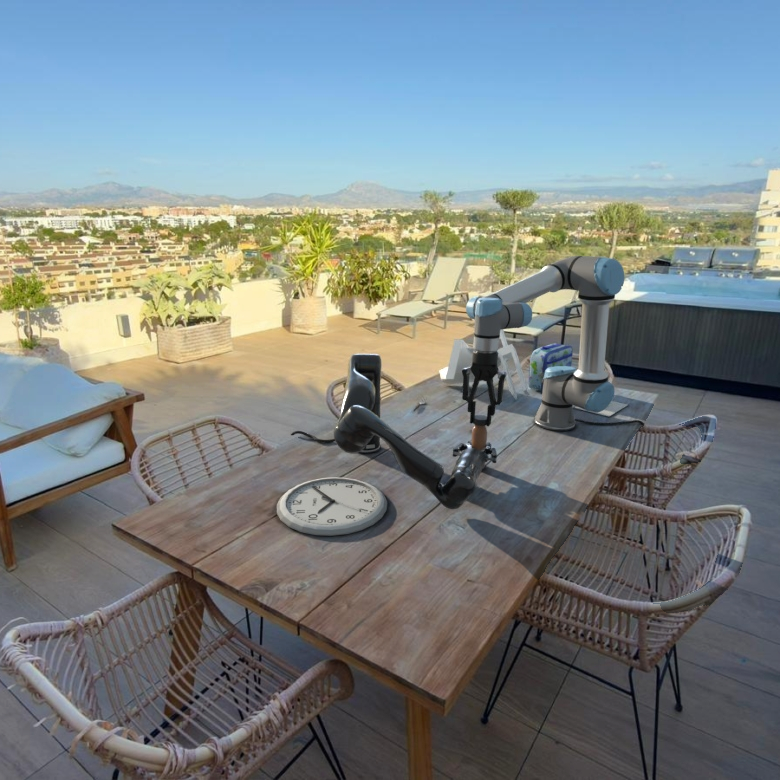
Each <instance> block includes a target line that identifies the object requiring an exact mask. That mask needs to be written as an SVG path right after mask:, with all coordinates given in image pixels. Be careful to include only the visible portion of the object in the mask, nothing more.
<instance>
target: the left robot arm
mask: <svg viewBox="0 0 780 780" xmlns="http://www.w3.org/2000/svg"><path fill="white" fill-rule="evenodd" d="M349 357H350V358H349V360H348V366H347V377H346V383H345V386H344V390H343V395H342V396H343V397H342V402H341V407H340V415H339V418H338V421H337V423H336V425H335V427H334V429H333V438H331V439H321V438H317V437H316V436H315V435H312V434H310V433H308V432H305V431H302V430H294V431H292V432H291V433H290V436H294V435H297V434H299V435H302V436H306V437H307V438H309V439H313V440H314V441H315V442H317V443H323V444H324V443H325V444H326V443H328V444H329V443H334V442H335V443H336V445H337V446H338V448H339V449H340V450H342V451H343V452H344V453H347V454H352V455H353V454H358V453H360V454H373V453H376V452H378V451H380V449H381V440H382V441H383V442H385V444H386V445H387V446H388V447H389V449H390V451H391V452H392V455H393V456H394V459H395V461H396V462H397V464H398V466H399V468H400V470H402V472H403V473H404V474H405V475H407V476H408V477H409V478H411V479H412V480H414V481H416V483H419V484H420V485H422V486H423V487H425V488H426V489H427V490H428V491H429V492H430V493H431V494H432V496H434V497H435V498H436V500H437V501H438V502H439V503H440V504H441V505H442V506H443V507H444V508H447V510H448V509H449V510H458V509H459V508H460V507H461V506H462V505H464V504H465V502H466V501H467V500H468V499H469V498H470V497H471V496H473V494H474V493H475V491H476V489H477V488H478V484H477V479H478V478H479V477H480V475H481V473H482V471H483V469H482V468H483V466H484V464H485V465H486V463H488V461H490V462H492V463H493V464H496V463H497V458H498V453H497V449H496V448H495V447H492V444H491V442H489V441H488V442H487V444H486V447H485V448H484V447H482V448H481V449H475V448H472V447H471V440H472V439H470V440H468V441H467V442H466V443H463V442H461V443H459V444H457V445H456V446H455V447H453V448H452V457H455V458H456V457H458V458H457V459H456V461H455V464H454V467H453V469H452V471H451V474H450V478H449V479H448V480H447V481H446V482H445V483H442V482H441V480H442V478H443V477H444V474H445V469H444V467H443V465H442V464H441V463H439V462H438V461H436V460H435V459H433V458H432V457H429V455H427V454H426V453H423V452H421V450H419V449H418V448H416V447H415V446H413V445H412V444H411V443H410V442H408V441H407V439H405V438H404V437H403V436H402V435H400V434H399V432H397V431H396V430H395V429H393V427H391V426H390V425H389V424H388V423H386V422H385V421H384V420H383V419H382V418H381V384H382V383H381V382H382V369H383V367H382V366H383V364H382V357H381V356H380V354H379V353H354V354H352V355H351V356H349ZM307 433H308V434H307Z"/></svg>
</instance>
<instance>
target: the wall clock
mask: <svg viewBox="0 0 780 780" xmlns="http://www.w3.org/2000/svg"><path fill="white" fill-rule="evenodd" d="M387 509H388V500H387V498H386V496H385V494H384V493H383V492H382V491H381V490H380V489H379V488H377V487H376V486H374V485H372V484H371V483H369V482H365V481H362V480H359V479H355V478H349V477H338V476H337V477H335V476H333V477H332V476H331V477H322V478H317V479H312V480H307V481H305V482H302V483H299V484H297V485H295V486H293V487H292V488H290V489H288V490H287V491H286V492H285V493H284V494H283V495H281V496H280V498H279V499H278V502H277V503H276V515H277V517H278V518H279V520H280V521H281V522H282V523H283V524H285V525H286V526H287V527H288V528H290V529H293V530H295V531H297V532H299V533H303V534H308V535H312V536H327V537H328V536H329V537H331V536H332V537H333V536H342V535H350V534H352V533H356V532H361V531H363V530H366V529H368V528H369V527H372V526H373V525H375V524H376V523H378V522H379V521H380V520H381V519H382V518H383V517H384V516H385V514H386V512H387Z"/></svg>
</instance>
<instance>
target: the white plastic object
mask: <svg viewBox="0 0 780 780" xmlns="http://www.w3.org/2000/svg"><path fill="white" fill-rule="evenodd" d="M499 339H500V342H501V345H502V347H499V350H497V352H498V363H497V366H498V368H499V367H500V366H502V370H503V373H504V372H506V373H507V375H506V377H505V380H506V383H507V386H508V390H509V393H510V394H511V395H512V397H513V398H514V399H515V400H517V392H516V391H517V390H516V388H515V385H514V381H513V378H512V375H511V371H510V369H509V365H508V361H510V360H513V363H514V366H515V369H516V372H517V376H518V380H519V382H520V385H521V389H522V391H523V393H524V395H525V396H526V397H528V396H531V395H530V390H529V386H528V384H527V381H526V378H525V375H524V371H523V369H522V368H523V367H522V366H521V362H520V359H519V355H518V352H517V349H516V347H515V346H514V345H513V343H511V344H508V341H507V337H506V334H505V331H504V329H501V330H500V338H499ZM473 351H474V349H473V346H469V345H468V343H466V342H465V340H464V339H463V338H460V339H458V338H454V340H453V344H452V349H451V353H450V357H449V362H448V366H446V367H444V368H442V369H440V370H439V371H438V372H439V376H440V381H442V383H443V384H444V385H445V386H449V385H458V384H463V374H462V370H463V369H464V368H469V367H471V365H472V358H473ZM474 378H475V376H474V375H473V373H472V371H470V374H469V383H474ZM480 382H481V381H479V383H480Z"/></svg>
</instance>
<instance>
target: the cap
mask: <svg viewBox="0 0 780 780" xmlns="http://www.w3.org/2000/svg"><path fill="white" fill-rule="evenodd" d="M486 424H487V415H484V414H475V416H474V417H473V423H472V425H474V426H475V425H478V426H485V425H486Z"/></svg>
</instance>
